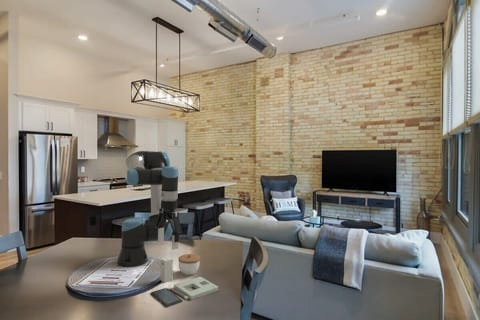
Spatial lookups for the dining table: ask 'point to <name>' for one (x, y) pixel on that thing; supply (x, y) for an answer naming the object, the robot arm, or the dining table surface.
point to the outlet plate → (199, 283)
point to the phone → (166, 297)
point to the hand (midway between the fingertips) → (167, 245)
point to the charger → (166, 269)
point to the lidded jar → (189, 263)
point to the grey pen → (177, 293)
